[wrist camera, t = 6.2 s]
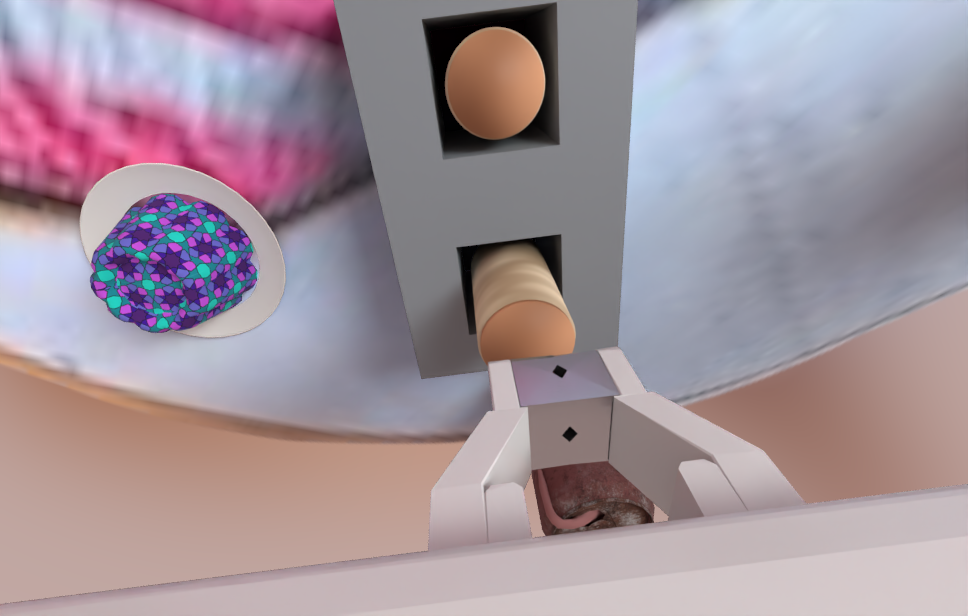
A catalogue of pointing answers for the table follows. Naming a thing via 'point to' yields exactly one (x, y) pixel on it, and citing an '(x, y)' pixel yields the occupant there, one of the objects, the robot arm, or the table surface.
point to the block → (498, 162)
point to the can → (588, 499)
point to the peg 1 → (495, 83)
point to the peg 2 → (518, 303)
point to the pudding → (179, 252)
